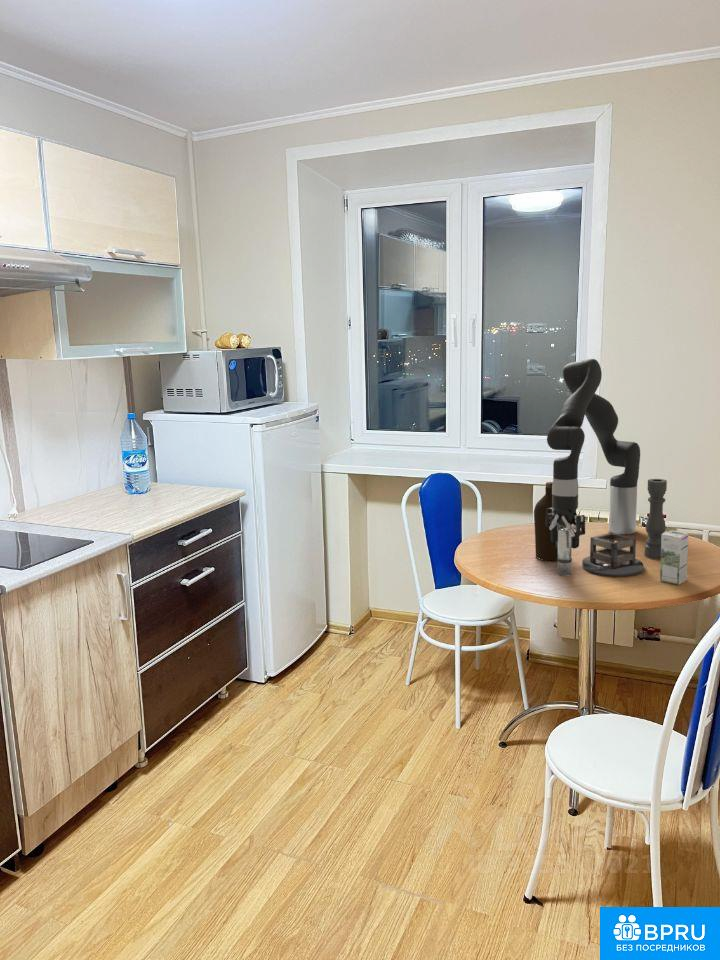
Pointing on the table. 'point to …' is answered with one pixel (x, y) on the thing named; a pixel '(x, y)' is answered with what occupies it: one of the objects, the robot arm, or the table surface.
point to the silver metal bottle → (564, 551)
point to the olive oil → (544, 528)
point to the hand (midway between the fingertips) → (564, 544)
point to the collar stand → (612, 556)
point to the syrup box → (674, 557)
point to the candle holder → (655, 518)
